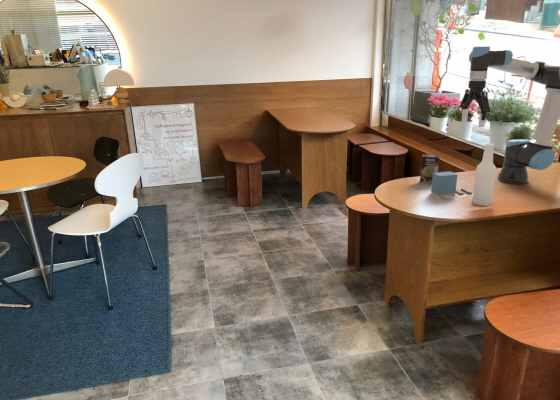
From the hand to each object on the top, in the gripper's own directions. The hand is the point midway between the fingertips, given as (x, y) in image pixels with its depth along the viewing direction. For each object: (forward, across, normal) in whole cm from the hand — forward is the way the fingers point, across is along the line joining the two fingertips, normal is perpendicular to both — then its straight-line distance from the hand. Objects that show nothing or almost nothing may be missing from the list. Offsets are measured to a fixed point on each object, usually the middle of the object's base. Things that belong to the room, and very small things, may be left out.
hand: (472, 124), depth 221 cm
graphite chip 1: (+35, 0, -4) cm, 35 cm away
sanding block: (+35, 0, -12) cm, 37 cm away
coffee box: (+36, -22, -8) cm, 43 cm away
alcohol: (+36, +15, -1) cm, 40 cm away
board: (+36, 0, -7) cm, 37 cm away
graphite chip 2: (+35, 0, +1) cm, 35 cm away
